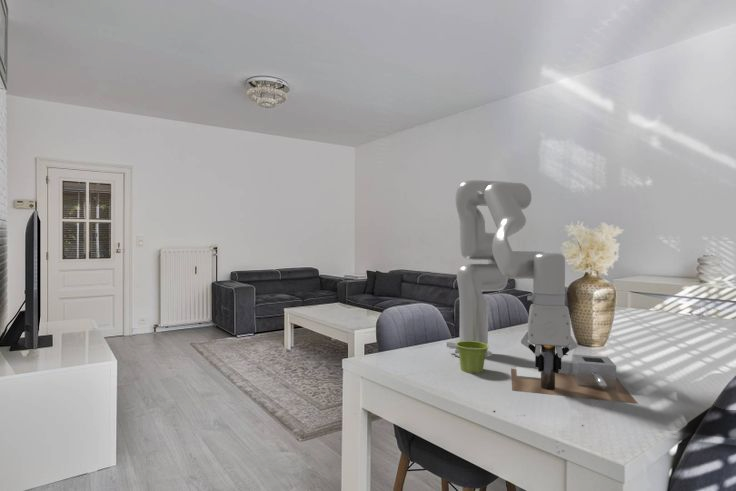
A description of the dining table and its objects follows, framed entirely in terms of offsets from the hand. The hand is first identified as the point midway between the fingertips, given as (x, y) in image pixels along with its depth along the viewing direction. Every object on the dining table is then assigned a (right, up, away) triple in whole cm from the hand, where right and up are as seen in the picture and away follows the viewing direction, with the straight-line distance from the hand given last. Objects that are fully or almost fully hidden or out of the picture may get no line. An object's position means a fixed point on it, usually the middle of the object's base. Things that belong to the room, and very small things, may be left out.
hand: (548, 370), depth 110 cm
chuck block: (+13, -5, +1) cm, 14 cm away
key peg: (0, -4, 0) cm, 4 cm away
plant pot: (-16, -6, +15) cm, 23 cm away
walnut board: (+6, -6, +3) cm, 9 cm away
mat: (+1, -4, +11) cm, 12 cm away
